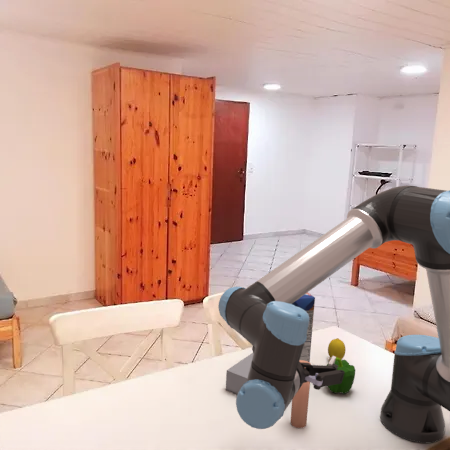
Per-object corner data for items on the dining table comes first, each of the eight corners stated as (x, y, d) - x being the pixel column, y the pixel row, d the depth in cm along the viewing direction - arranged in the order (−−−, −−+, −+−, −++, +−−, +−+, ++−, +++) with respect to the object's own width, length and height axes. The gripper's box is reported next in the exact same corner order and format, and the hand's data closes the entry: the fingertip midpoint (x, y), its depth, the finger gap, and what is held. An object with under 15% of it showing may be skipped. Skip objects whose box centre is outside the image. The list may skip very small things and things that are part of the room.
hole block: (302, 385, 130) (303, 366, 129) (275, 411, 117) (277, 390, 116) (255, 368, 139) (256, 350, 138) (225, 390, 126) (226, 370, 125)
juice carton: (272, 355, 148) (276, 286, 144) (292, 354, 150) (298, 285, 146) (286, 373, 137) (292, 299, 133) (308, 371, 139) (315, 297, 135)
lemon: (326, 356, 149) (328, 334, 148) (343, 358, 149) (345, 335, 147) (327, 364, 144) (329, 341, 143) (345, 366, 143) (347, 343, 142)
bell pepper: (350, 383, 133) (354, 352, 131) (355, 398, 125) (358, 365, 123) (322, 380, 134) (324, 349, 132) (324, 395, 126) (327, 362, 124)
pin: (309, 422, 113) (314, 363, 110) (302, 430, 110) (307, 369, 107) (294, 416, 115) (299, 358, 113) (287, 423, 112) (292, 364, 109)
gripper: (216, 372, 89) (250, 347, 109) (341, 425, 80) (353, 387, 100) (226, 336, 88) (258, 317, 108) (352, 385, 79) (362, 355, 99)
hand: (304, 351), depth 104 cm, fingers open, 13 cm apart
